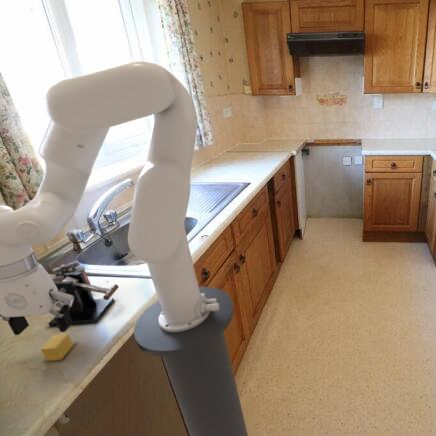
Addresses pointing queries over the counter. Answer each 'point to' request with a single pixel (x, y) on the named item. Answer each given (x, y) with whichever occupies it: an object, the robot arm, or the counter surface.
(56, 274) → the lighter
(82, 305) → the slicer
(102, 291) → the lever
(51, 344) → the butter
